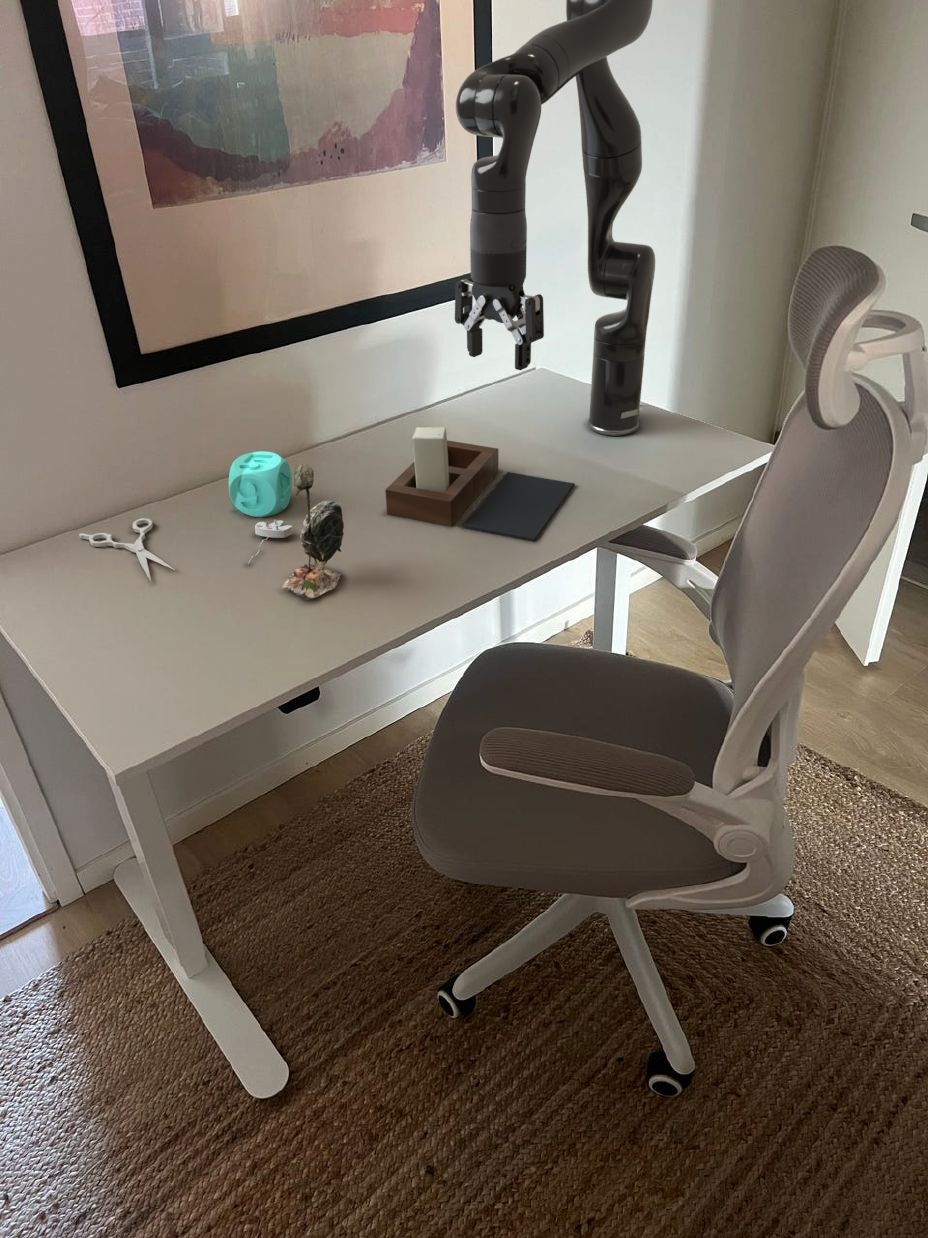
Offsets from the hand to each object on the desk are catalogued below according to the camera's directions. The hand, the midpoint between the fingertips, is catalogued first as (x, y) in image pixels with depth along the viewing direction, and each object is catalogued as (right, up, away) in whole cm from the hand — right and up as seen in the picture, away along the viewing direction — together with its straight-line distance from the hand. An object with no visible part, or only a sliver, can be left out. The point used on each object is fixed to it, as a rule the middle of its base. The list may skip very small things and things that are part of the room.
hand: (498, 361), depth 141 cm
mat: (+4, -18, +21) cm, 28 cm away
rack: (-8, -15, +25) cm, 30 cm away
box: (-10, -18, +22) cm, 30 cm away
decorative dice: (-38, -18, +22) cm, 48 cm away
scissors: (-55, -27, +10) cm, 62 cm away
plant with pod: (-26, -31, +3) cm, 41 cm away
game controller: (-36, -25, +12) cm, 45 cm away
